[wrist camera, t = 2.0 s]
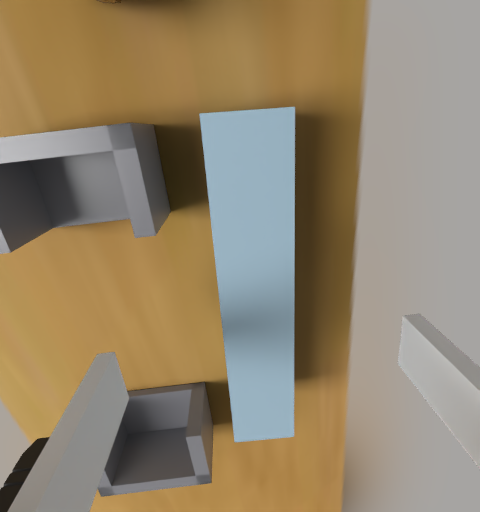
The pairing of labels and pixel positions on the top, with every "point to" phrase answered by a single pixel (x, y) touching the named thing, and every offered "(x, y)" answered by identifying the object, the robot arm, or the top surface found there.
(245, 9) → the top surface
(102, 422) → the robot arm
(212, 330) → the top surface
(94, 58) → the top surface
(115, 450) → the end caps
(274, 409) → the slat
